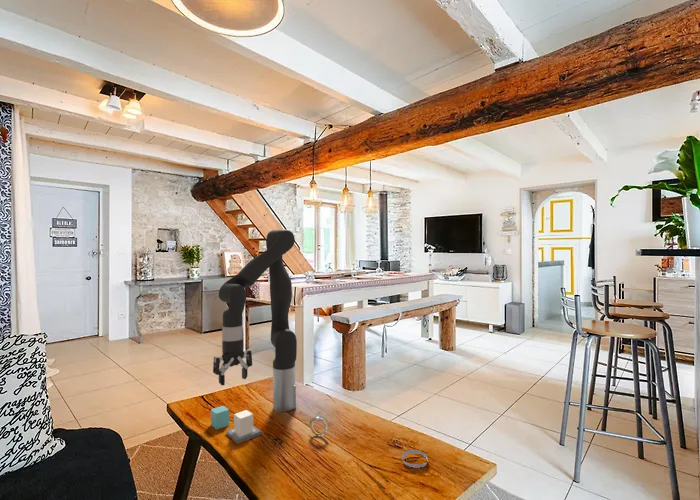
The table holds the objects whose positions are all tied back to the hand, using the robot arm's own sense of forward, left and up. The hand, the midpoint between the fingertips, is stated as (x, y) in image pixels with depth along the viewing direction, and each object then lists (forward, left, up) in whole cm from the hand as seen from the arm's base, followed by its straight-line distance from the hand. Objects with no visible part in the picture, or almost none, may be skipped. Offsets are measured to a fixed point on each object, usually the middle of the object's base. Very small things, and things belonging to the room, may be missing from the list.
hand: (233, 381), depth 133 cm
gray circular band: (-55, +36, -19) cm, 69 cm away
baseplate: (-4, +4, -18) cm, 19 cm away
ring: (-30, +13, -18) cm, 37 cm away
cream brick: (-4, +4, -17) cm, 18 cm away
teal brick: (+5, -6, -18) cm, 20 cm away
